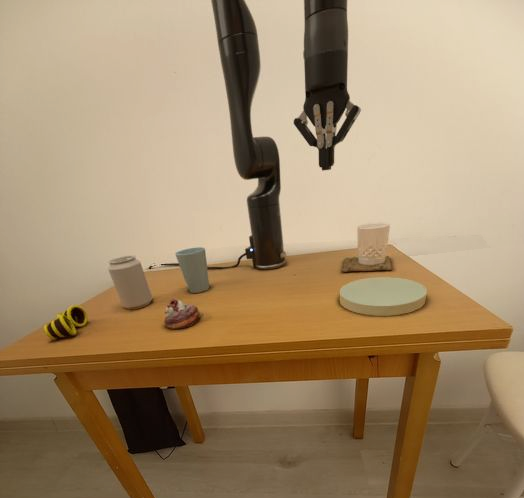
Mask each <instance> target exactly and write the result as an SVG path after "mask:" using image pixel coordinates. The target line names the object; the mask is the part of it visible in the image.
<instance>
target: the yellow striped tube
mask: <svg viewBox="0 0 524 498" xmlns="http://www.w3.org/2000/svg"><path fill="white" fill-rule="evenodd" d="M88 320H89V315H88V313H87V311H86V310H85V308H84V307H82V306H80V305H78V304H77V305H76V304H73V305H70V306H69V307H68V308H67V309H65V310H64V311H63V312H61V313H58V314H57V316H56V318H55V319H53V320H52V321H51V322H49V323H48V324H45V325H44V326H43V330H44V333H45V334H46V336H47V337H48V338H49V339H51V340H52V341H55V340H58V339H60V338H67V337H68V336H76V335H77V329H76V327H78V328H80V327H81V328H82V327H84V326H85V325H87V323H88Z"/></svg>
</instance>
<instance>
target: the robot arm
mask: <svg viewBox="0 0 524 498" xmlns="http://www.w3.org/2000/svg"><path fill="white" fill-rule="evenodd" d="M210 3H211V7H212V14H213V20H214V26H215V33H216V39H217V41H216V42H217V46H218V52H219V53H218V54H219V59H220V65H221V69H222V75H223V81H224V85H225V86H224V87H225V92H226V99H227V106H228V112H229V122H230V123H229V124H230V131H231V133H230V134H231V144H232V154H233V159H234V165H235V169H236V171H237V173H238V175H239V177H240V178H241V179H243V180H244V181H250V180H257V185H256V188H255V189H254V190H253V192H251V193H249V194H248V195H247V197H246V207H247V213H248V220H249V226H250V227H249V228H250V234H251V235H249V237H248V240H249V246H248V247H246V248H244V252H243V254H241V255H240V256H239V257H238V259H237V262H236V263H235V264H234V265H231V266H207V270H226V269H233V268H236V267H238V266H239V265H240V263H241V260H242V259H243V258H244V257H245V258H246V260H251V261H252V267H253V269H257V270H264V271H265V270H274V269H278V268H281V267H283V266H285V265H286V250H285V248H284V247H285V246H284V237H283V236H284V235H283V225H282V224H283V223H282V213H281V204H280V197H281V190H282V184H281V183H282V182H281V161H280V160H281V159H280V152H279V148H278V145H277V143H276V141H275V139H274V138H272V137H270V136H254V134H253V129H252V128H253V127H252V106H253V101H254V98H255V94H256V91H257V88H258V84H259V79H260V75H261V68H262V63H261V52H260V44H259V35H258V29H257V26H256V23H255V20H254V17H253V15H252V13H251V10H250V8H249V6H248V4H247V3H246V0H210ZM303 19H304V20H303V22H304V30H303V51H302V54H303V55H302V56H303V65H304V66H303V67H304V69H303V70H304V93H305V98H304V102H303V106H302V107H303V110H302V111H301V113H300V114H299V116H297V117H295V118H294V119H293V125H294V126H295V128H296V129H297V130H298V132H299V133H300V135H301V136H302V138H303V139H304V140H305V142H306V143H307V145H308V146H310V147H314V148H317V150H318V167H319V168H321V171H330V170H332V167H333V166H334V165H335V148H336V146H337V145H338V144H339V143H341V142H344V140H345V138H346V136H347V135H348V133H349V132H350V130H351V128H352V127H353V126H354V124H355V122H356V121H357V119H358V117H359V115H360V113H361V111H362V109H361V107H360V106H359V105H357V104H354V103H353V102H352V101H350V99H351V95H350V94H349V91H348V65H349V61H348V60H349V23H348V22H349V21H348V0H303ZM344 113H345V114H344ZM343 114H344V115H345V117H346V118H345V119H344V121H343V123H342V125H341V126H340V128H339V129H338V131H337V127H338V123H339V122H340V120H341V118H342V117H343ZM308 120H309V121H310V123H311V124H312V125H313V127H314V129H315V135H314V134H313V132H312V131H311V130H310V127H308V125H309V121H308ZM155 266H156V265H154V266H151V265H149V267H148V270H151V269H152V268H153V267H155ZM160 266H180V265H179V262H172V263H171V262H170V263H165V264H161V265H160Z"/></svg>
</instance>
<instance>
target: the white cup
mask: <svg viewBox="0 0 524 498" xmlns="http://www.w3.org/2000/svg"><path fill="white" fill-rule="evenodd" d="M390 229H391V223H389V222H381V221H380V222H369V223H368V222H367V223H364V224H363V223H362V224H359V225H357V226H356V235H357V236H356V237H357V238H356V241H357V245H356V246H357V247H356V248H357V257H358V262H359V263H360V264H364V265H373V264H380V263H383V262H384V261H385V256H387V255H386V254H387V252H388V251H387V250H388V244H389V237H390V236H389V235H390Z"/></svg>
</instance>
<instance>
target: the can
mask: <svg viewBox="0 0 524 498" xmlns="http://www.w3.org/2000/svg"><path fill="white" fill-rule="evenodd" d="M136 257H137V256H136V255H132V254H131V255H124V256H119V257H115V258H112V259H110V260H109V261H108V264H109V265H108V268H107V270H108V272H109V275H110V278H111V280H112V282H113V286H114V288H115V290H116V292H117V296H118V298H119V300H120V304H121V306H122V307H123V308H125V309H127V310H138V309H141V308H144V307H147V306H148V305H150V304H151V301H152V300H153V295H152V292H151V290H150V287H149V283H148V281H147V278H146V275H145V272H144V269H143V266H142V263H141V261H140V260H139V259H137V258H136Z"/></svg>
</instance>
